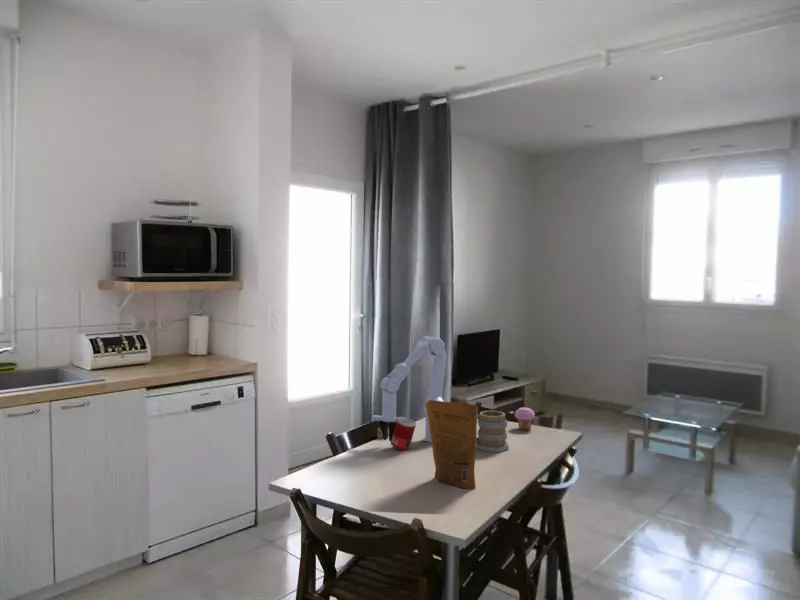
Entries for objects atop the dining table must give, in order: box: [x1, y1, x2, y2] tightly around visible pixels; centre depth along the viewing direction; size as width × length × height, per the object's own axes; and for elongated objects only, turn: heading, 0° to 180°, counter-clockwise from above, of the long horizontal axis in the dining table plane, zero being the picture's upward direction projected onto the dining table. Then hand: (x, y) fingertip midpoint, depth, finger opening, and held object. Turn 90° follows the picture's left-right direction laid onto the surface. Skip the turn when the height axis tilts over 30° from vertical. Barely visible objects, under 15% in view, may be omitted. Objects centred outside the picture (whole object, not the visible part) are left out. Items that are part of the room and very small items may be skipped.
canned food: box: [390, 416, 417, 451], centre depth 224 cm, size 8×8×11 cm
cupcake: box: [514, 406, 536, 431], centre depth 255 cm, size 9×9×10 cm
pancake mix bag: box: [426, 400, 479, 490], centre depth 186 cm, size 7×19×28 cm, turn 51°
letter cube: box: [376, 427, 389, 439], centre depth 242 cm, size 4×4×4 cm
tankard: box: [476, 410, 509, 453], centre depth 227 cm, size 20×13×15 cm, turn 84°
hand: (388, 440), depth 227 cm, fingers open, 2 cm apart
